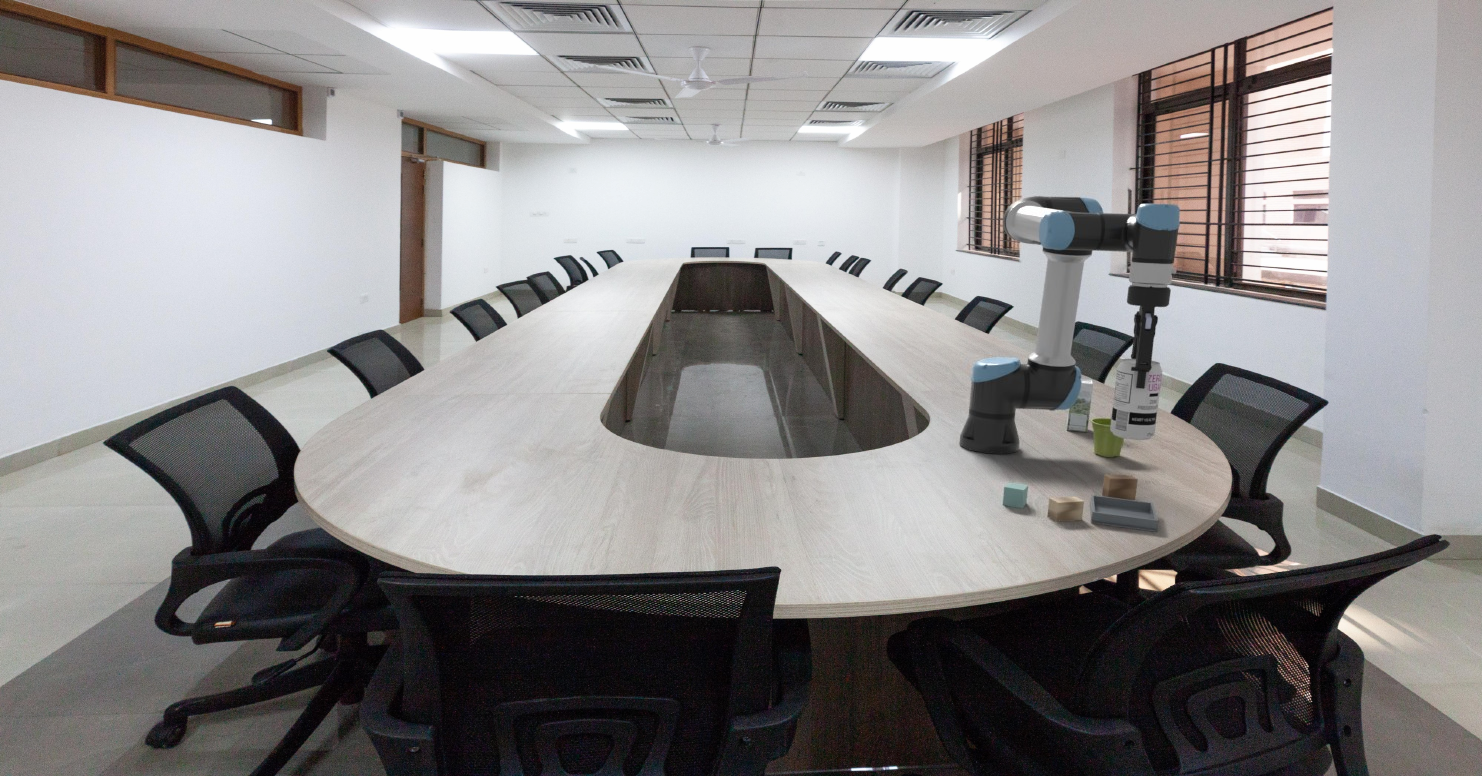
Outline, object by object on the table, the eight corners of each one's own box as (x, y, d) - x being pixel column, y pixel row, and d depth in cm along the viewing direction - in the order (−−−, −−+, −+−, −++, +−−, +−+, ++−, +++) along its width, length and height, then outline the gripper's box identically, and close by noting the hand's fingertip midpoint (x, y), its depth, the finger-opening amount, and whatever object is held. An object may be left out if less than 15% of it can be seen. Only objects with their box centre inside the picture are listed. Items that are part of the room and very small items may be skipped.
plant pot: (1086, 456, 230) (1090, 423, 229) (1087, 448, 239) (1091, 416, 237) (1126, 461, 227) (1130, 427, 225) (1125, 452, 235) (1129, 420, 234)
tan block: (1056, 521, 180) (1058, 502, 179) (1047, 516, 183) (1049, 498, 182) (1082, 520, 182) (1084, 501, 181) (1072, 515, 185) (1074, 496, 184)
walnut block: (1107, 500, 195) (1110, 478, 194) (1101, 496, 198) (1104, 474, 197) (1135, 501, 195) (1137, 479, 194) (1129, 497, 198) (1131, 475, 197)
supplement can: (1114, 428, 185) (1123, 356, 183) (1157, 435, 181) (1167, 361, 178) (1105, 436, 179) (1113, 361, 176) (1149, 443, 174) (1159, 366, 171)
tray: (1091, 522, 180) (1092, 511, 179) (1089, 505, 191) (1090, 494, 190) (1156, 531, 176) (1158, 520, 175) (1151, 513, 187) (1152, 502, 187)
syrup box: (1087, 428, 261) (1092, 379, 258) (1087, 433, 255) (1093, 382, 253) (1066, 426, 263) (1071, 377, 260) (1066, 430, 257) (1071, 380, 254)
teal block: (1002, 505, 189) (1004, 486, 189) (1007, 500, 193) (1008, 482, 192) (1021, 508, 188) (1023, 490, 187) (1026, 503, 191) (1028, 485, 190)
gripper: (1177, 290, 163) (1161, 412, 168) (1165, 282, 183) (1152, 392, 187) (1132, 287, 166) (1118, 408, 170) (1125, 280, 185) (1113, 389, 189)
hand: (1136, 400), depth 179 cm, fingers closed on supplement can, 8 cm apart
